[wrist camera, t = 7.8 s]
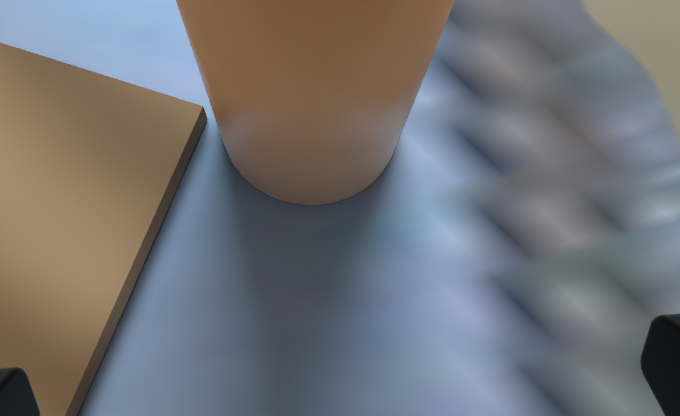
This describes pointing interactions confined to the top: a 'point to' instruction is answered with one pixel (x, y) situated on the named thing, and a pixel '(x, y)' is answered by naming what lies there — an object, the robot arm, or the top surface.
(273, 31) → the container with domed lid
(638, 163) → the top surface
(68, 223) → the thin square board
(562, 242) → the top surface
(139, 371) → the top surface
